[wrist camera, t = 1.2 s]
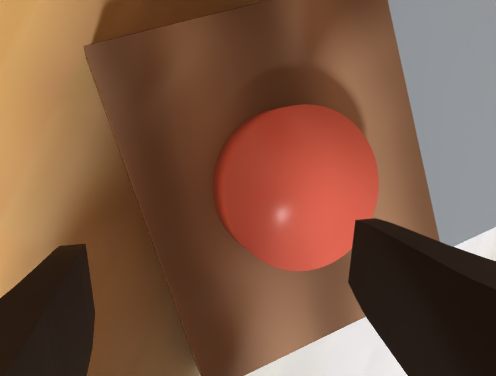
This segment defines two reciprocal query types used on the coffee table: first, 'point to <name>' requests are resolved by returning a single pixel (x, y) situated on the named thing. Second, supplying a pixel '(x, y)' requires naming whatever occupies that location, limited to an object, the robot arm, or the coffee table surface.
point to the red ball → (295, 185)
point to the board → (219, 130)
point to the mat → (453, 106)
